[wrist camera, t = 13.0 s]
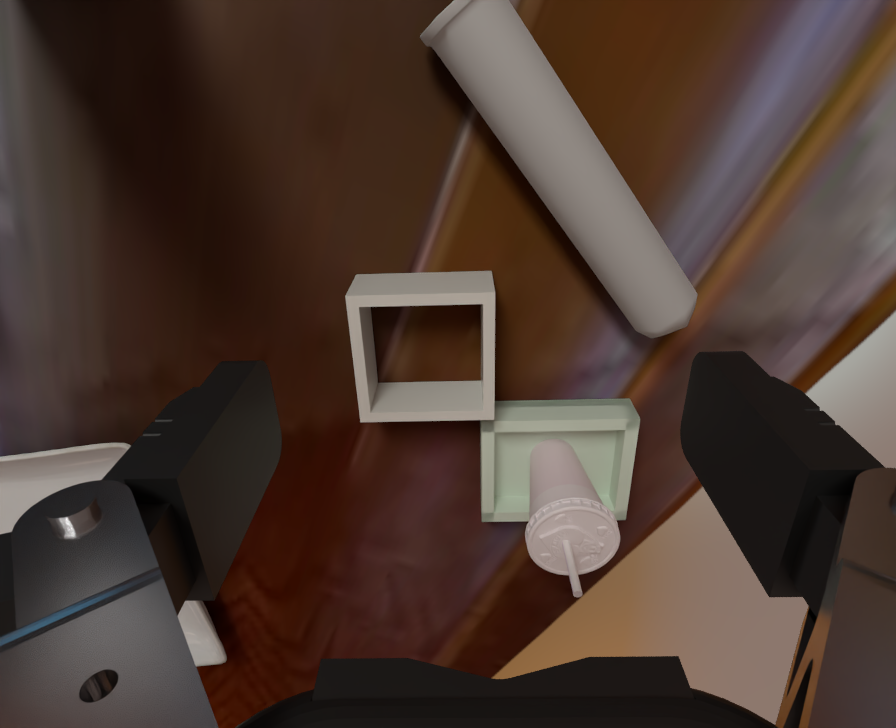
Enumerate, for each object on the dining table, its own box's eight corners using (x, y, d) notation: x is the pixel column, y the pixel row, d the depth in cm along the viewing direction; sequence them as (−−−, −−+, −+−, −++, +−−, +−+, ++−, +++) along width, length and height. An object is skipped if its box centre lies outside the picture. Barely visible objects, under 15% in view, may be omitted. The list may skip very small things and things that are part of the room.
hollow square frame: (369, 391, 46) (360, 422, 41) (356, 274, 41) (345, 295, 37) (491, 389, 45) (494, 419, 41) (491, 270, 41) (495, 292, 37)
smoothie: (526, 417, 45) (552, 548, 33) (602, 433, 46) (656, 567, 33) (504, 479, 48) (521, 621, 36) (576, 493, 49) (618, 638, 36)
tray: (480, 498, 50) (481, 521, 48) (479, 401, 46) (481, 421, 43) (616, 496, 50) (625, 520, 47) (629, 398, 45) (640, 418, 43)
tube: (727, 306, 38) (506, -49, 29) (668, 360, 38) (429, 21, 29) (677, 295, 43) (476, -11, 34) (626, 342, 43) (410, 49, 34)
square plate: (-3, 651, 61) (-31, 685, 58) (-148, 443, 49) (-194, 471, 46) (239, 637, 60) (226, 671, 56) (153, 419, 48) (129, 446, 44)
